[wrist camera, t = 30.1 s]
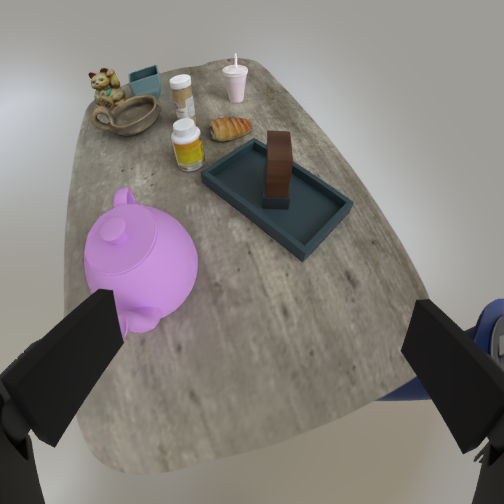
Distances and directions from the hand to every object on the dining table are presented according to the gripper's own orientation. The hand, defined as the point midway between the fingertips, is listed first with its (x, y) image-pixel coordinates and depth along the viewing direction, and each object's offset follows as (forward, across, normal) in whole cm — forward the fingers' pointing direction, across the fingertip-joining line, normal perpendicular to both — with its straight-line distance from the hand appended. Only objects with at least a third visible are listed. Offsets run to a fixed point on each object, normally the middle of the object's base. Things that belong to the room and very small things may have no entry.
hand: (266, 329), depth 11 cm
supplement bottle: (+47, -14, +7) cm, 50 cm away
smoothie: (+65, -7, +26) cm, 70 cm away
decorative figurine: (+68, -46, +28) cm, 86 cm away
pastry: (+54, -8, +15) cm, 57 cm away
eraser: (+40, +2, +2) cm, 41 cm away
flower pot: (+69, -34, +29) cm, 82 cm away
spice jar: (+57, -18, +17) cm, 62 cm away
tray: (+41, +2, +2) cm, 41 cm away
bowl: (+57, -34, +18) cm, 69 cm away
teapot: (+29, -18, -11) cm, 35 cm away
